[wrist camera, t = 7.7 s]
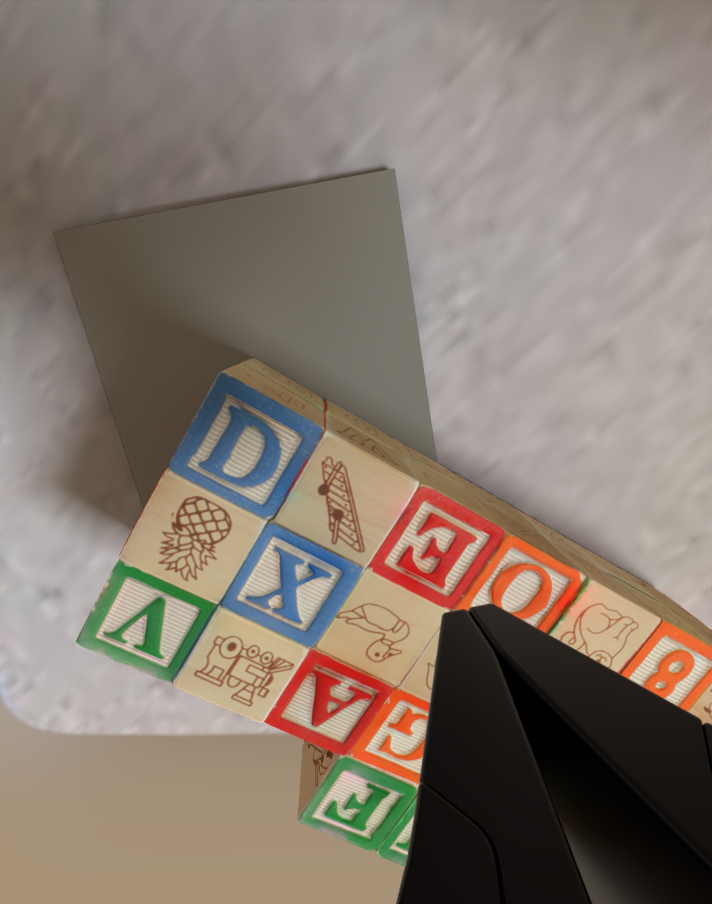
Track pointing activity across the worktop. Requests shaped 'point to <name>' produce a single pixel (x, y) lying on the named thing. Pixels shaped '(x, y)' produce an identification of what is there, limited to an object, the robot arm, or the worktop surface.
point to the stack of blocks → (353, 593)
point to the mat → (252, 309)
